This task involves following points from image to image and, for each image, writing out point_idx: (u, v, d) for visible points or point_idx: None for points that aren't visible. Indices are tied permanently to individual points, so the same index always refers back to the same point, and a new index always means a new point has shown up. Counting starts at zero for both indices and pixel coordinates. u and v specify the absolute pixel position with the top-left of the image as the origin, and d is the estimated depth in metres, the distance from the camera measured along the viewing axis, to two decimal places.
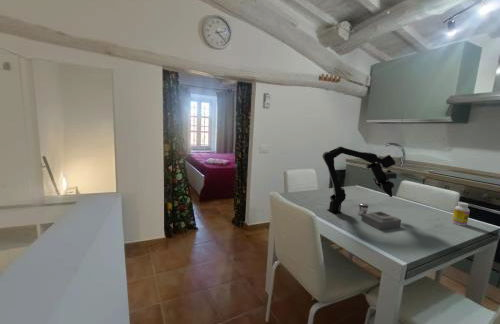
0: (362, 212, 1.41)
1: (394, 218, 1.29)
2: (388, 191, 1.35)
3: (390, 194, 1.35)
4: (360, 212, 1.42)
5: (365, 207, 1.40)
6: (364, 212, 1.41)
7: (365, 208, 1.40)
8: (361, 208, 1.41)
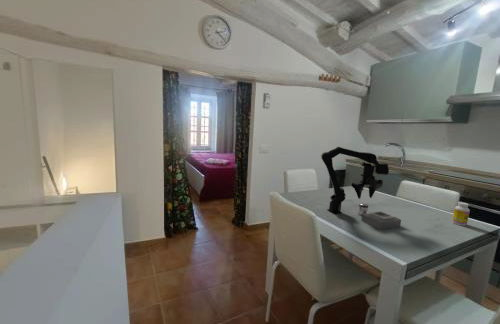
0: (362, 212, 1.41)
1: (394, 218, 1.29)
2: (357, 191, 1.40)
3: (358, 195, 1.40)
4: (360, 212, 1.42)
5: (365, 207, 1.40)
6: (364, 212, 1.41)
7: (365, 208, 1.40)
8: (361, 208, 1.41)
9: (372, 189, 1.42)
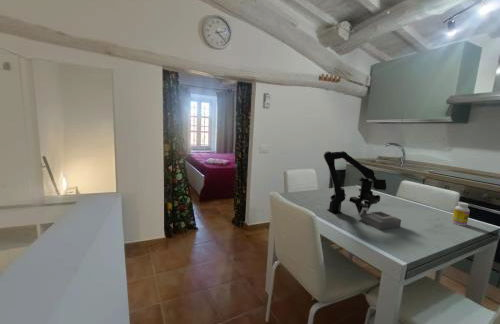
0: (362, 212, 1.41)
1: (394, 218, 1.29)
2: (358, 206, 1.42)
3: (358, 210, 1.42)
4: (360, 212, 1.42)
5: (365, 207, 1.40)
6: (364, 212, 1.41)
7: (365, 208, 1.40)
8: (361, 208, 1.41)
9: None
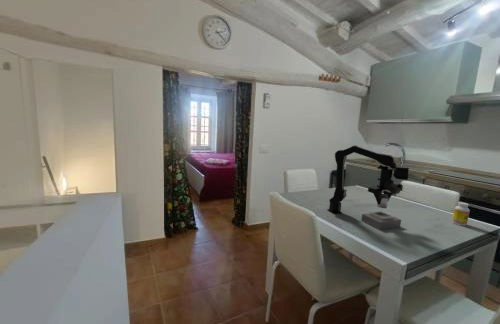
0: (382, 203, 1.28)
1: (394, 218, 1.29)
2: (377, 197, 1.29)
3: (378, 201, 1.29)
4: (380, 203, 1.29)
5: (385, 198, 1.27)
6: (384, 203, 1.28)
7: (385, 199, 1.28)
8: (381, 199, 1.28)
9: (387, 194, 1.30)
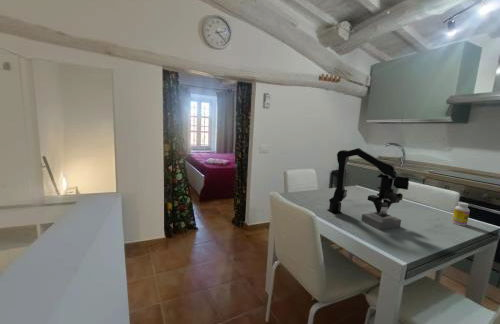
0: (381, 212, 1.28)
1: (394, 218, 1.29)
2: (377, 205, 1.29)
3: (377, 209, 1.29)
4: None
5: (385, 206, 1.27)
6: (384, 212, 1.28)
7: (385, 207, 1.27)
8: (381, 207, 1.28)
9: (387, 203, 1.30)
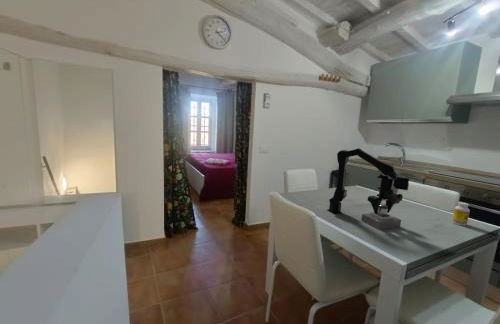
0: (381, 214, 1.28)
1: (394, 218, 1.29)
2: (374, 206, 1.28)
3: (375, 210, 1.28)
4: (379, 214, 1.29)
5: (385, 208, 1.28)
6: (384, 214, 1.28)
7: (385, 209, 1.28)
8: (381, 209, 1.28)
9: (390, 203, 1.31)
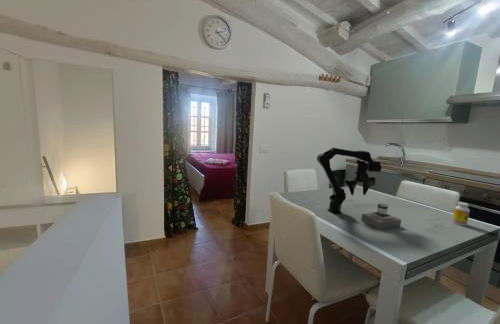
0: (381, 214, 1.28)
1: (394, 218, 1.29)
2: (350, 188, 1.43)
3: (351, 192, 1.43)
4: (379, 214, 1.29)
5: (385, 208, 1.27)
6: (383, 214, 1.28)
7: (385, 209, 1.28)
8: (381, 209, 1.28)
9: (366, 186, 1.45)
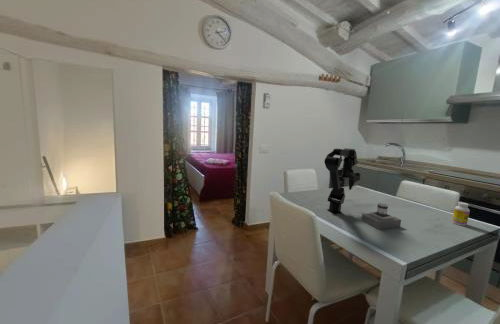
0: (381, 214, 1.28)
1: (394, 218, 1.29)
2: None
3: None
4: (379, 214, 1.29)
5: (384, 208, 1.28)
6: (383, 214, 1.28)
7: (384, 209, 1.28)
8: (380, 209, 1.28)
9: (351, 182, 1.55)
